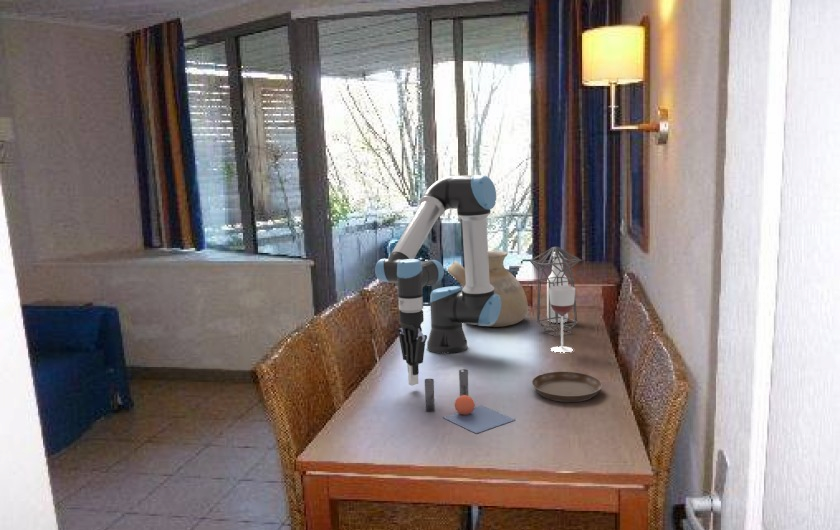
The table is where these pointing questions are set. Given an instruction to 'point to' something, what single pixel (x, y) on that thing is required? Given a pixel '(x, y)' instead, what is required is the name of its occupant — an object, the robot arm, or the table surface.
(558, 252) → the geometric lantern
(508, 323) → the jug
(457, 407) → the ball
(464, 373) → the post
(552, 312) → the alcohol
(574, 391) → the plant saucer
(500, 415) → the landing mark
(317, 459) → the table surface
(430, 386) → the post
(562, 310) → the wineglass
